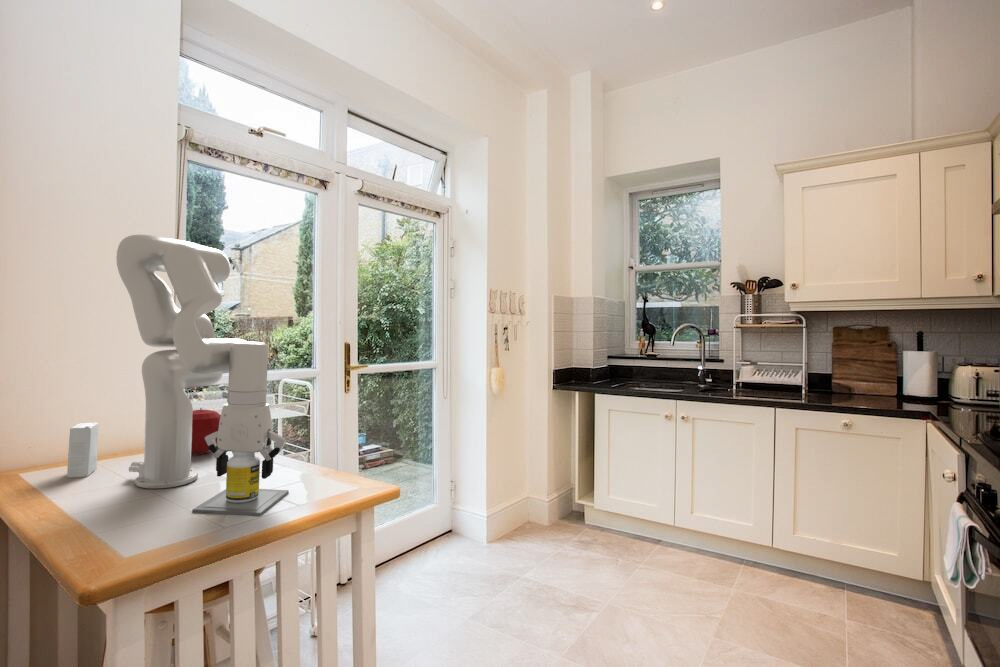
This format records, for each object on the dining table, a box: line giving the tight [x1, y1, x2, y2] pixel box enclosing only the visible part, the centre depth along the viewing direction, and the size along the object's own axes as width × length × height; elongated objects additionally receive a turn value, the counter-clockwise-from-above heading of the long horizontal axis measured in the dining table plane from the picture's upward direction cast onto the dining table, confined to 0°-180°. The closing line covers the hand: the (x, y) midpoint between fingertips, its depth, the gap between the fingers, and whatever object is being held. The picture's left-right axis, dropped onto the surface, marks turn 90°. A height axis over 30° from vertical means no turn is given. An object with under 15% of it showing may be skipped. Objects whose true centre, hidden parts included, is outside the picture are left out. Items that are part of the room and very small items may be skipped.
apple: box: [191, 407, 221, 456], centre depth 148 cm, size 12×12×13 cm
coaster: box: [191, 488, 290, 517], centre depth 112 cm, size 14×14×1 cm
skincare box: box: [66, 422, 100, 479], centre depth 125 cm, size 6×4×12 cm
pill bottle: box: [225, 451, 261, 503], centre depth 111 cm, size 6×6×12 cm
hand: (244, 475), depth 112 cm, fingers open, 9 cm apart
